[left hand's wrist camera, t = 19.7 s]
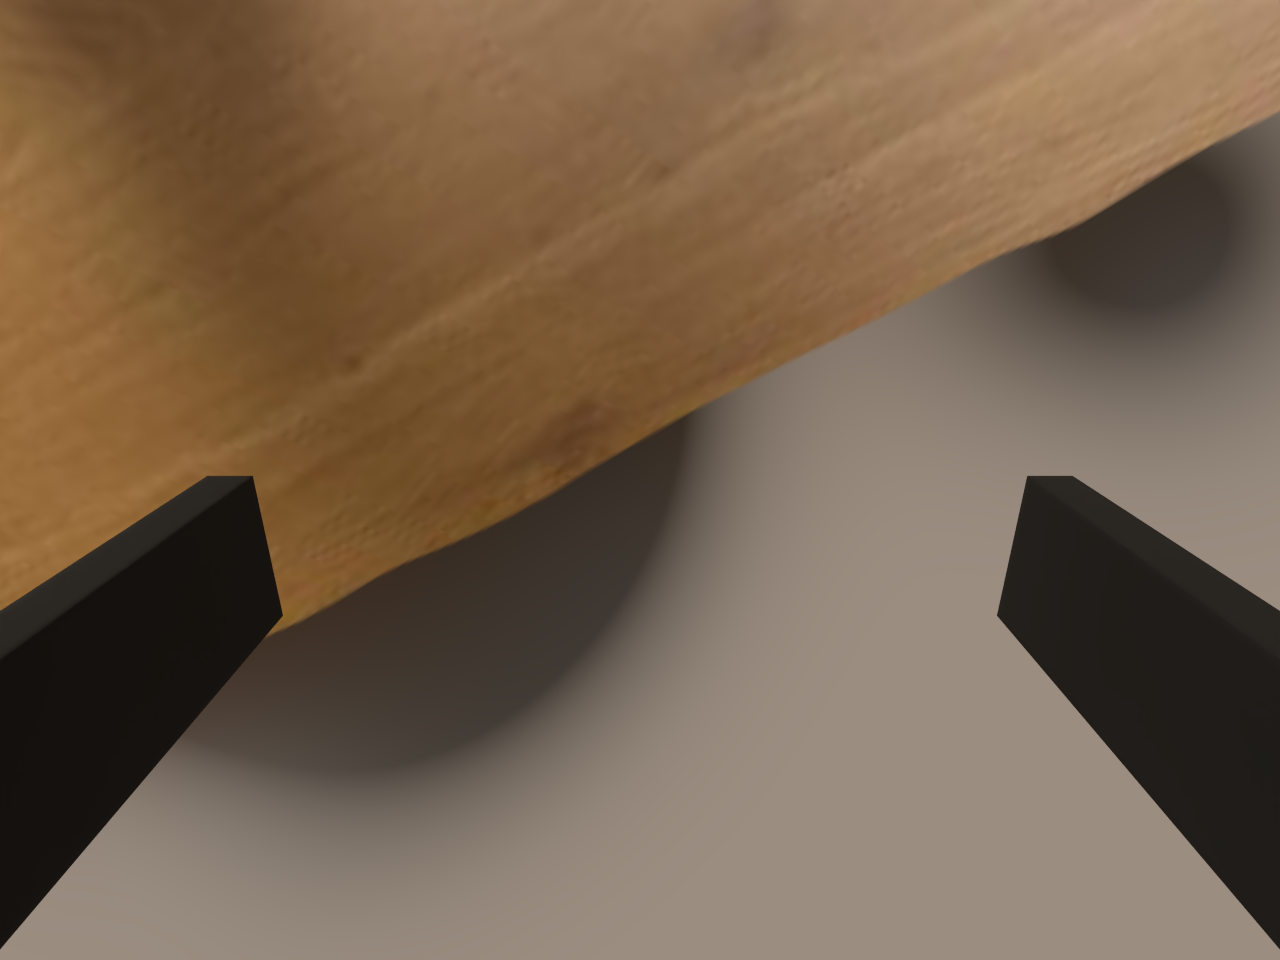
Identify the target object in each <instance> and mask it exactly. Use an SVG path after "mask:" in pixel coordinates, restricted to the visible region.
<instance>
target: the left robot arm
mask: <svg viewBox="0 0 1280 960" xmlns="http://www.w3.org/2000/svg"><path fill="white" fill-rule="evenodd" d="M282 616H283V614H282V609H281V605H280V600H279V595H278V591H277V586H276V581H275V577H274V572H273V568H272V563H271V558H270V554H269V549H268V545H267V540H266V535H265V531H264V526H263V522H262V517H261V512H260V508H259V503H258V498H257V494H256V489H255V485H254V480H253V476H207V477H205V478H204V479H202V480H201V481H199V482H197V483H196V484H194V485H193V486H191V487H190V488H188V489H187V490H185V491H184V492H182V493H181V494H179V495H178V496H176V497H174V498H173V499H171V500H170V501H168V502H167V503H165V504H164V505H162V506H161V507H159V508H158V509H156V510H154V511H153V512H151V513H150V514H148V515H147V516H145V517H144V518H142V519H141V520H139V521H138V522H136V523H135V524H133V525H131V526H130V527H128V528H127V529H125V530H124V531H122V532H121V533H119V534H118V535H116V536H115V537H113V538H112V539H110V540H108V541H107V542H105V543H104V544H102V545H101V546H99V547H98V548H96V549H95V550H93V551H92V552H90V553H88V554H87V555H85V556H84V557H82V558H81V559H79V560H78V561H76V562H75V563H73V564H72V565H70V566H69V567H67V568H65V569H64V570H62V571H61V572H59V573H58V574H56V575H55V576H53V577H52V578H50V579H49V580H47V581H45V582H44V583H42V584H41V585H39V586H38V587H36V588H35V589H33V590H32V591H30V592H29V593H27V594H26V595H24V596H22V597H21V598H19V599H18V600H16V601H15V602H13V603H12V604H10V605H9V606H7V607H6V608H4V609H3V610H1V611H0V949H1V948H2V946H3V945H4V944H5V943H6V942H7V941H8V939H9V938H10V937H11V936H12V935H13V933H14V932H15V931H16V930H17V929H18V928H19V926H20V925H21V924H22V923H23V922H24V921H25V919H26V918H27V917H28V916H29V915H30V913H31V912H32V911H33V910H34V909H35V908H36V906H37V905H38V904H39V903H40V902H41V900H42V899H43V898H44V897H45V896H46V894H47V893H48V892H49V891H50V890H51V889H52V887H53V886H54V885H55V884H56V883H57V882H58V880H59V879H60V878H61V877H62V876H63V874H64V873H65V872H66V871H67V870H68V869H69V867H70V866H71V865H72V864H73V863H74V862H75V860H76V859H77V858H78V857H79V856H80V854H81V853H82V852H83V851H84V850H85V848H86V847H87V846H88V845H89V844H90V843H91V841H92V840H93V839H94V838H95V837H96V836H97V834H98V833H99V832H100V831H101V830H102V828H103V827H104V826H105V825H106V824H107V823H108V821H109V820H110V819H111V818H112V817H113V815H114V814H115V813H116V812H117V811H118V810H119V808H120V807H121V806H122V805H123V804H124V803H125V801H126V800H127V799H128V798H129V797H130V795H131V794H132V793H133V792H134V791H135V789H136V788H137V787H138V786H139V785H140V784H141V782H142V781H143V780H144V779H145V778H146V776H147V775H148V774H149V773H150V772H151V771H152V769H153V768H154V767H155V766H156V765H157V763H158V762H159V761H160V760H161V759H162V758H163V756H164V755H165V754H166V753H167V752H168V751H169V749H170V748H171V747H172V746H173V745H174V744H175V742H176V741H177V740H178V739H179V738H180V736H181V735H182V734H183V733H184V732H185V731H186V729H187V728H188V727H189V726H190V725H191V723H192V722H193V721H194V720H195V719H196V718H197V716H198V715H199V714H200V713H201V712H202V710H203V709H204V708H205V707H206V706H207V705H208V703H209V702H210V701H211V700H212V699H213V697H214V696H215V695H216V694H217V693H218V692H219V690H220V689H221V688H222V687H223V686H224V685H225V683H226V682H227V681H228V680H229V679H230V677H231V676H232V675H233V674H234V673H235V672H236V670H237V669H238V668H239V667H240V666H241V664H242V663H243V662H244V661H245V660H246V659H247V657H248V656H249V655H250V654H251V653H252V651H253V650H254V649H255V648H256V647H257V646H258V644H259V643H260V642H261V641H262V640H263V638H264V637H265V636H266V635H267V634H268V633H269V631H270V630H271V629H272V628H273V627H274V626H275V624H276V623H277V622H278V621H279V620H280V618H281V617H282ZM997 616H998V617H999V618H1000V620H1001V621H1002V622H1003V623H1004V624H1005V626H1006V627H1007V628H1008V629H1009V630H1010V631H1011V633H1012V634H1013V635H1014V636H1015V637H1016V638H1017V640H1018V641H1019V642H1020V643H1021V644H1022V646H1023V647H1024V648H1025V649H1026V650H1027V651H1028V653H1029V654H1030V655H1031V656H1032V657H1033V659H1034V660H1035V661H1036V662H1037V663H1038V664H1039V666H1040V667H1041V668H1042V669H1043V670H1044V672H1045V673H1046V674H1047V675H1048V676H1049V677H1050V679H1051V680H1052V681H1053V682H1054V683H1055V684H1056V686H1057V687H1058V688H1059V689H1060V690H1061V692H1062V693H1063V694H1064V695H1065V696H1066V697H1067V699H1068V700H1069V701H1070V702H1071V703H1072V705H1073V706H1074V707H1075V708H1076V709H1077V710H1078V712H1079V713H1080V714H1081V715H1082V716H1083V717H1084V719H1085V720H1086V721H1087V722H1088V723H1089V725H1090V726H1091V727H1092V728H1093V729H1094V730H1095V732H1096V733H1097V734H1098V735H1099V736H1100V738H1101V739H1102V740H1103V741H1104V742H1105V744H1106V745H1107V746H1108V747H1109V748H1110V749H1111V751H1112V752H1113V753H1114V754H1115V755H1116V756H1117V758H1118V759H1119V760H1120V761H1121V762H1122V764H1123V765H1124V766H1125V767H1126V768H1127V769H1128V771H1129V772H1130V773H1131V774H1132V775H1133V777H1134V778H1135V779H1136V780H1137V781H1138V782H1139V784H1140V785H1141V786H1142V787H1143V788H1144V790H1145V791H1146V792H1147V793H1148V794H1149V795H1150V797H1151V798H1152V799H1153V800H1154V801H1155V802H1156V804H1157V805H1158V806H1159V807H1160V808H1161V810H1162V811H1163V812H1164V813H1165V814H1166V815H1167V817H1168V818H1169V819H1170V820H1171V821H1172V823H1173V824H1174V825H1175V826H1176V827H1177V828H1178V830H1179V831H1180V832H1181V833H1182V834H1183V836H1184V837H1185V838H1186V839H1187V840H1188V841H1189V843H1190V844H1191V845H1192V846H1193V847H1194V849H1195V850H1196V851H1197V852H1198V853H1199V854H1200V856H1201V857H1202V858H1203V859H1204V860H1205V862H1206V863H1207V864H1208V865H1209V866H1210V867H1211V869H1212V870H1213V871H1214V872H1215V873H1216V874H1217V876H1218V877H1219V878H1220V879H1221V880H1222V882H1223V883H1224V884H1225V885H1226V886H1227V887H1228V889H1229V890H1230V891H1231V892H1232V893H1233V895H1234V896H1235V897H1236V898H1237V899H1238V900H1239V902H1240V903H1241V904H1242V905H1243V906H1244V908H1245V909H1246V910H1247V911H1248V912H1249V913H1250V915H1251V916H1252V917H1253V918H1254V919H1255V920H1256V922H1257V923H1258V924H1259V925H1260V926H1261V928H1262V929H1263V930H1264V931H1265V932H1266V933H1267V935H1268V936H1269V937H1270V938H1271V939H1272V941H1273V942H1274V943H1275V944H1276V945H1277V946H1278V948H1279V949H1280V611H1279V610H1277V609H1276V608H1274V607H1273V606H1271V605H1270V604H1268V603H1267V602H1265V601H1264V600H1262V599H1260V598H1259V597H1258V596H1256V595H1254V594H1253V593H1251V592H1250V591H1248V590H1247V589H1245V588H1244V587H1242V586H1241V585H1239V584H1238V583H1236V582H1235V581H1233V580H1231V579H1230V578H1228V577H1227V576H1225V575H1224V574H1222V573H1221V572H1219V571H1218V570H1216V569H1215V568H1213V567H1211V566H1210V565H1208V564H1207V563H1205V562H1204V561H1202V560H1201V559H1199V558H1198V557H1196V556H1195V555H1193V554H1192V553H1190V552H1188V551H1187V550H1185V549H1184V548H1182V547H1181V546H1179V545H1178V544H1176V543H1175V542H1173V541H1172V540H1170V539H1168V538H1167V537H1165V536H1164V535H1162V534H1161V533H1159V532H1158V531H1156V530H1155V529H1153V528H1152V527H1150V526H1148V525H1147V524H1145V523H1144V522H1142V521H1141V520H1139V519H1138V518H1136V517H1135V516H1133V515H1132V514H1130V513H1129V512H1127V511H1126V510H1124V509H1122V508H1121V507H1119V506H1118V505H1116V504H1115V503H1113V502H1112V501H1110V500H1109V499H1107V498H1106V497H1104V496H1102V495H1101V494H1099V493H1098V492H1096V491H1095V490H1093V489H1092V488H1090V487H1089V486H1087V485H1086V484H1084V483H1083V482H1081V481H1079V480H1078V479H1076V478H1075V477H1073V476H1027V480H1026V485H1025V489H1024V494H1023V499H1022V503H1021V508H1020V512H1019V517H1018V522H1017V526H1016V531H1015V535H1014V540H1013V545H1012V549H1011V554H1010V558H1009V563H1008V568H1007V572H1006V577H1005V581H1004V586H1003V591H1002V595H1001V600H1000V605H999V609H998V614H997Z"/></svg>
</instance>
